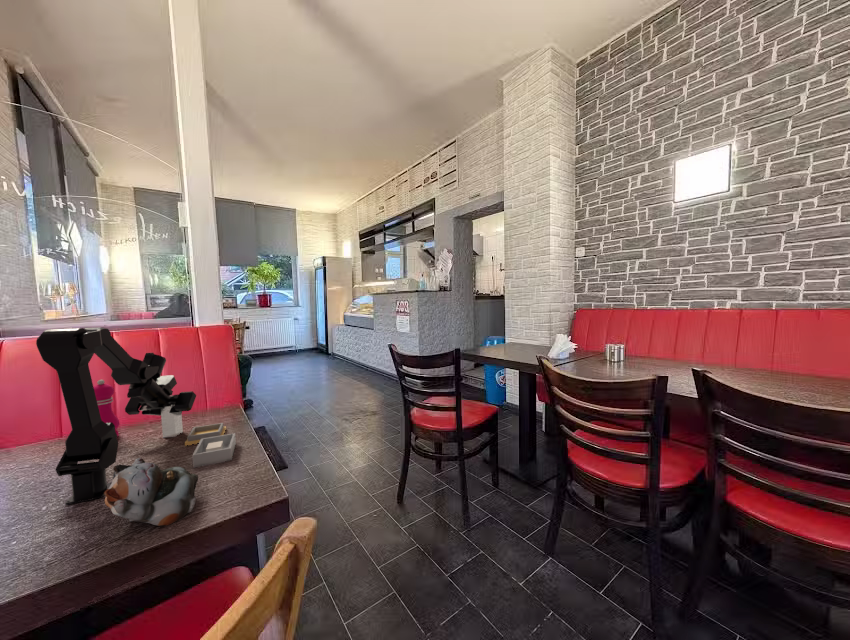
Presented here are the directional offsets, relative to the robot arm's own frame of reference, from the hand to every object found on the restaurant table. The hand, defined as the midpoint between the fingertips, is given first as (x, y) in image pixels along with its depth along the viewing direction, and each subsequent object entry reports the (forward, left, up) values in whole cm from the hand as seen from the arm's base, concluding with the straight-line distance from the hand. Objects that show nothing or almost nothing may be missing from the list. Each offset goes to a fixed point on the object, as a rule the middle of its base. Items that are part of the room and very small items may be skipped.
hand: (174, 414), depth 115 cm
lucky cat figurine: (-53, -9, -7) cm, 54 cm away
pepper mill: (+6, +20, -7) cm, 22 cm away
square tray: (-9, -11, -7) cm, 16 cm away
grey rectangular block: (-1, 0, -7) cm, 7 cm away
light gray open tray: (-26, -16, -7) cm, 31 cm away
